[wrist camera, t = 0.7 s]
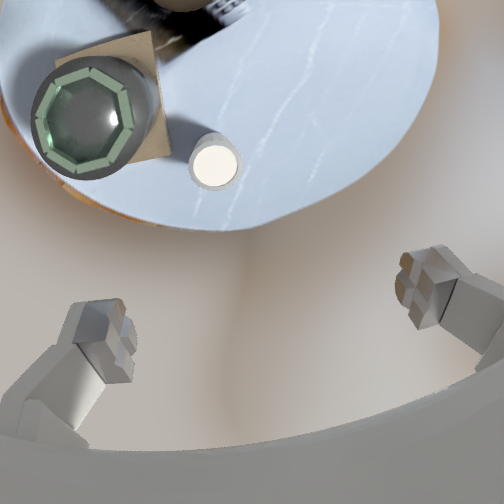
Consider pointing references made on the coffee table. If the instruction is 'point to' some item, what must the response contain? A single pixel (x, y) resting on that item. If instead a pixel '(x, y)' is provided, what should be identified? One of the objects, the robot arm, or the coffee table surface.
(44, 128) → the green-rimmed dark canister
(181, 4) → the pillar candle
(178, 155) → the coffee table surface
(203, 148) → the white cylinder
